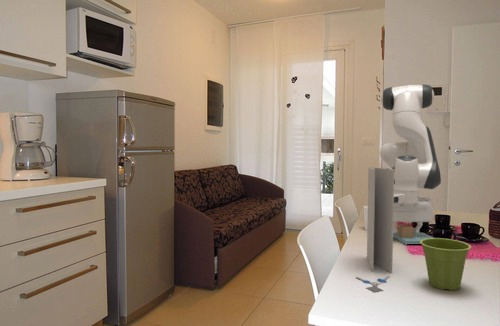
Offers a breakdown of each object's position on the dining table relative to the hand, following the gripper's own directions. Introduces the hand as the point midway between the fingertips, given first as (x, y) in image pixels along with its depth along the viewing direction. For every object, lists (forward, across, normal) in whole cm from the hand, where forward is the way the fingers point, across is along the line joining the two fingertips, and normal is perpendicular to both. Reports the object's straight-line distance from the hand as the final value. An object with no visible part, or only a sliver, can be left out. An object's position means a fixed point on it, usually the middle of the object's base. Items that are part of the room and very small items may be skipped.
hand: (405, 233), depth 143 cm
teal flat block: (+3, -7, 0) cm, 8 cm away
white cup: (+3, +6, -19) cm, 20 cm away
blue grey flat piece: (+4, +28, +43) cm, 52 cm away
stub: (+3, 0, 0) cm, 3 cm away
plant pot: (+3, +10, +46) cm, 47 cm away
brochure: (+3, +21, +29) cm, 36 cm away
